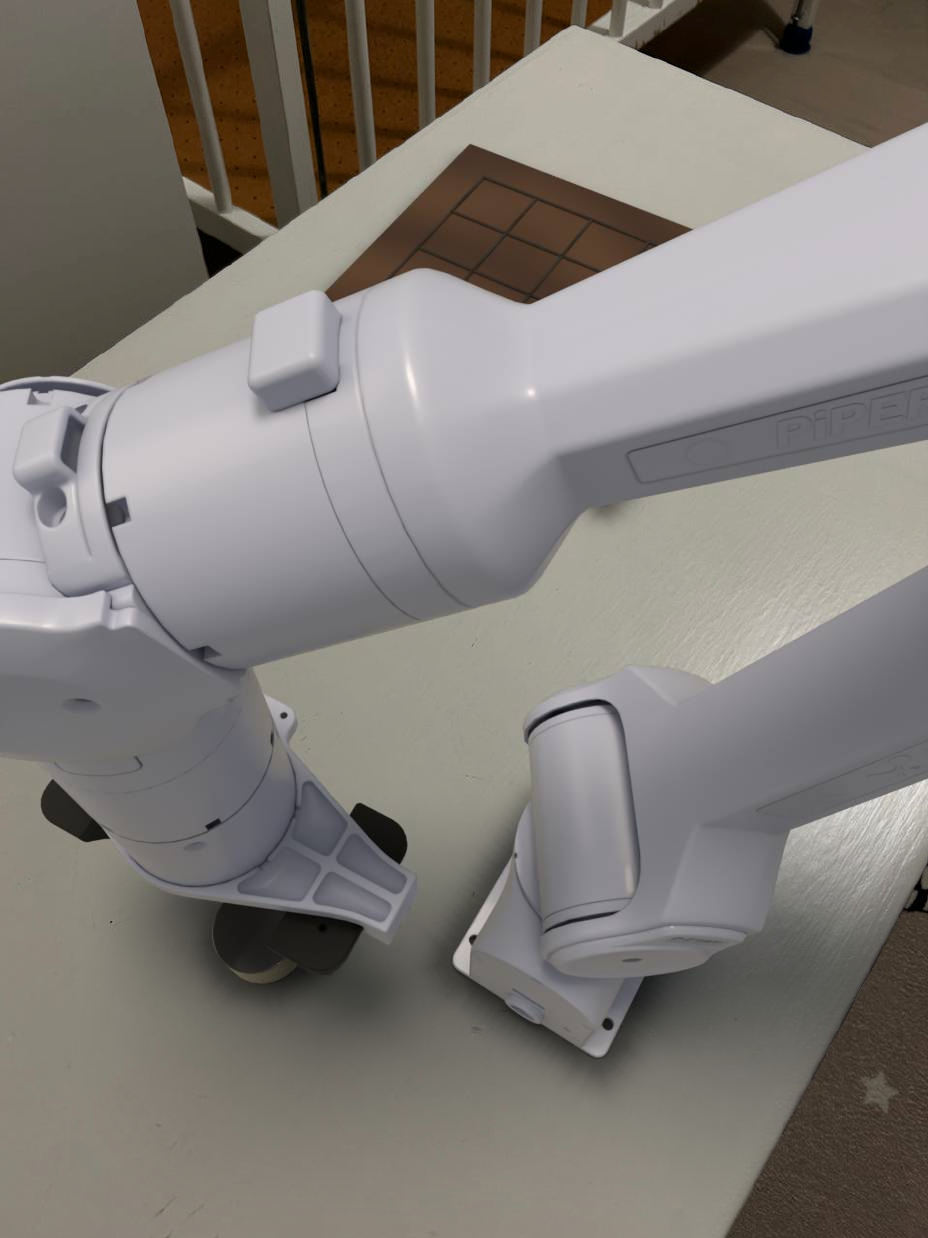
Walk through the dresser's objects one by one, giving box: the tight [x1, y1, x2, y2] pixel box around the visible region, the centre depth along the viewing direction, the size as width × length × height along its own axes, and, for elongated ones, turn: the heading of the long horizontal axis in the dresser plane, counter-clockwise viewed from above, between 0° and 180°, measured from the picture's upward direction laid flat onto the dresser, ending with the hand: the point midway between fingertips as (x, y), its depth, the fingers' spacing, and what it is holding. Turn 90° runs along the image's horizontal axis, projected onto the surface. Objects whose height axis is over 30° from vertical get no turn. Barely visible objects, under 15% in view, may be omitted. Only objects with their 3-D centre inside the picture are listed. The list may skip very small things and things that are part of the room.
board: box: [323, 143, 695, 304], centre depth 66 cm, size 24×24×2 cm
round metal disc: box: [211, 902, 298, 985], centre depth 45 cm, size 4×4×3 cm
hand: (256, 874), depth 39 cm, fingers open, 7 cm apart
